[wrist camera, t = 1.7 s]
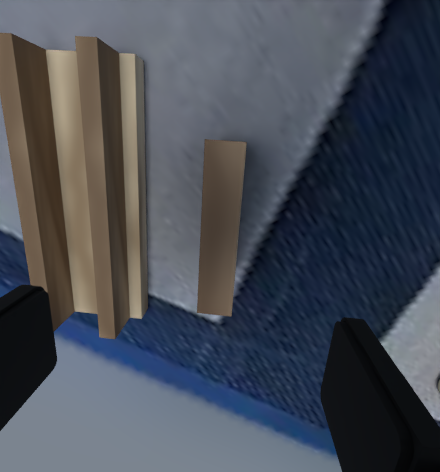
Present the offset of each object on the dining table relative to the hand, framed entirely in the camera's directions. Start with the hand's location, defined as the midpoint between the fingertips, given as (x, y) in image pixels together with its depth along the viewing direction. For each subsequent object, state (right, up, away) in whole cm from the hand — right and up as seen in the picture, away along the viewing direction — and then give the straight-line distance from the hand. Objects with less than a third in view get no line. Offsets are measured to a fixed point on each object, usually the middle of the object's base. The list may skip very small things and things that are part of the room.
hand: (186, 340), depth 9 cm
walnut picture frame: (+2, +6, +18) cm, 19 cm away
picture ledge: (-11, +7, +19) cm, 23 cm away
